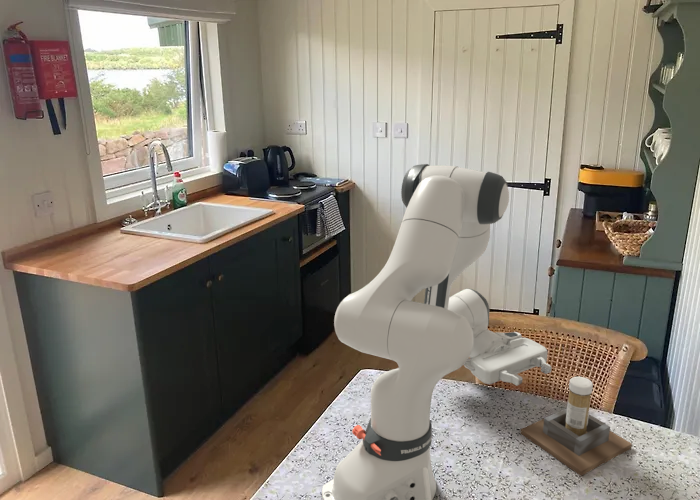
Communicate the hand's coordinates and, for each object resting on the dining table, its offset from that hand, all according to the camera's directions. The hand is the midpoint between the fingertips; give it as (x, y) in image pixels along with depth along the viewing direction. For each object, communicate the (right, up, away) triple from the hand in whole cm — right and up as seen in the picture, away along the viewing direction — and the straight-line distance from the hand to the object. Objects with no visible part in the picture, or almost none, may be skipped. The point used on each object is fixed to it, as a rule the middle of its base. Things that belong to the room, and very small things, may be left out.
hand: (535, 376), depth 131 cm
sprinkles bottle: (+6, -12, -7) cm, 15 cm away
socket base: (+6, -13, -7) cm, 16 cm away
